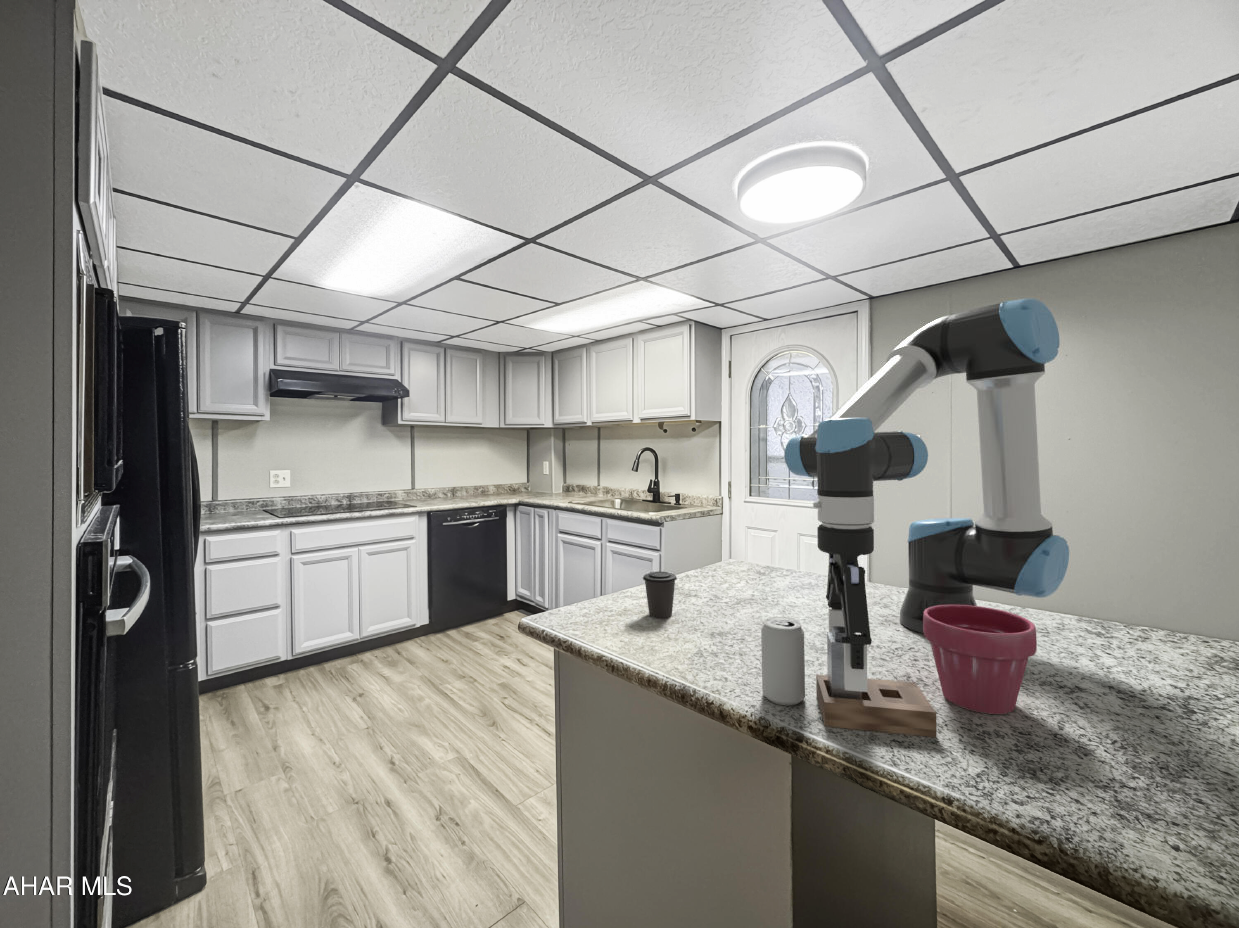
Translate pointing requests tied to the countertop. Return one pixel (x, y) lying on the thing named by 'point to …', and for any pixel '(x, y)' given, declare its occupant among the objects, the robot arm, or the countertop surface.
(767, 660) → the beverage can
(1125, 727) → the countertop surface
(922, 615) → the robot arm
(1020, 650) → the plant pot
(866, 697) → the socket block
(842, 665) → the grey square peg
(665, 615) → the coffee cup
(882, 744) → the countertop surface
